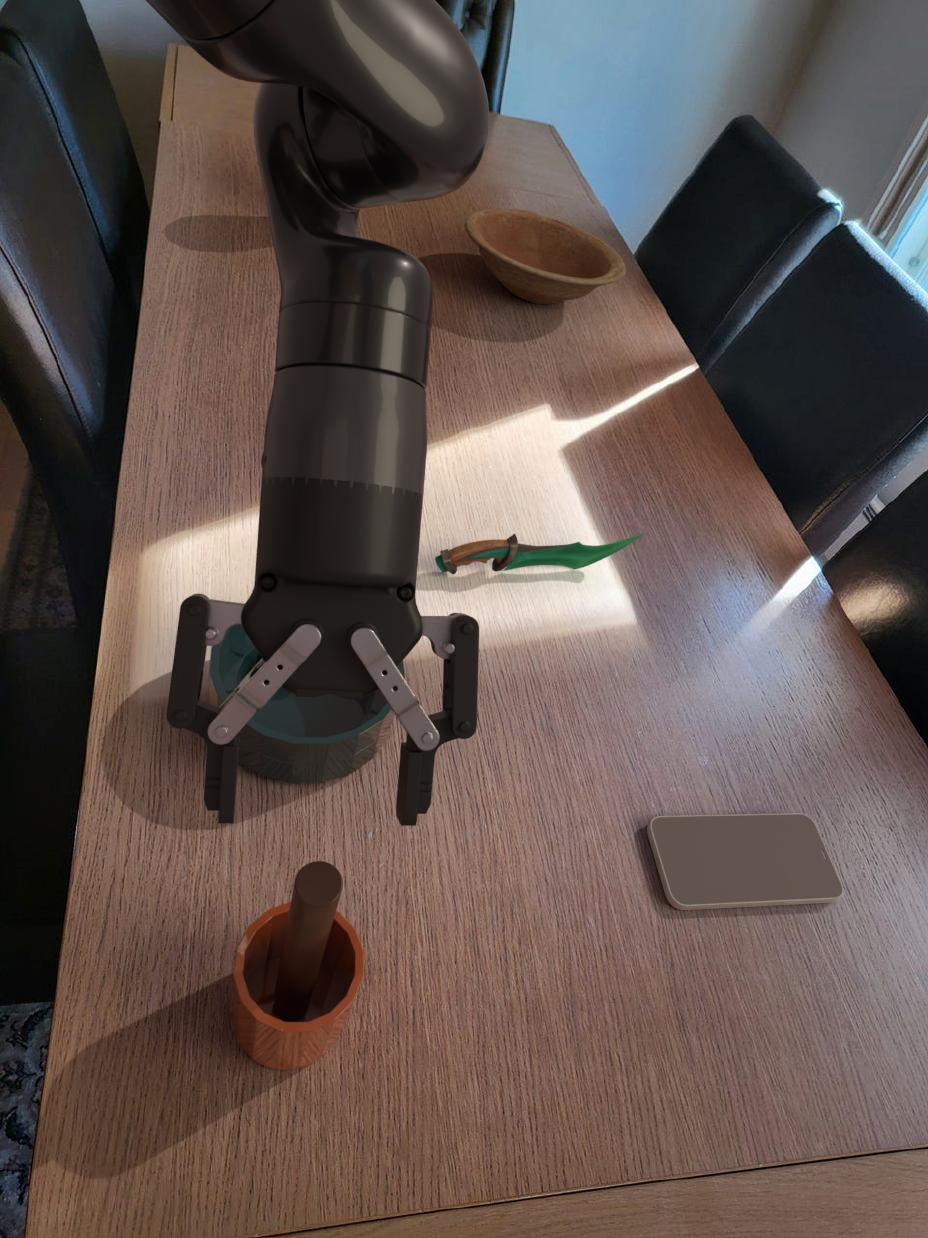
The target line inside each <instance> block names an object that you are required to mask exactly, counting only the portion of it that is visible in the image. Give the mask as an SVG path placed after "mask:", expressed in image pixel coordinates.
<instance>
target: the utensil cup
mask: <svg viewBox="0 0 928 1238" xmlns="http://www.w3.org/2000/svg"><path fill="white" fill-rule="evenodd" d="M290 904H291V901H288V902H286V903H283V904H280V905H276V906H274V907H271V908H269V909H267V910H265V911H264V912H263V913H262V914H261V915H260V916H259V917H258V918H257V919H256V920H254V921H253V922H252V923H251V924H250V925H248V927H247V929H246V930H245V932H244V933H243V934H244V935H243V936H242V938H241V940H240V941H239V943H238V945H237V947H236V950H235V957H234V967H233V972H232V973H233V974H232V989H231V1004H230V1019H231V1026H232V1030H233V1033H234V1036H235V1038H236V1040H237V1042H238V1044H239V1046H240V1047H241V1049H242V1050H243V1052H245V1054H246V1055H248V1057H249V1058H251V1059H252V1060H253V1061H254V1062H256V1063H258V1064H260V1065H262V1066H263V1067H266V1068H268V1069H269V1068H270V1069H274V1070H278V1071H291V1070H297V1069H301V1068H303V1067H306V1066H309V1065H312V1064H313V1063H315V1062H316V1061H318V1060H319V1059H321V1058H322V1057H323V1056H324V1055H326V1053H328V1052H329V1050H331V1048H332V1047H333V1046H334V1045H335V1043H336V1042H337V1041H338V1040H339V1038H340V1036H341V1033H342V1030H343V1028H344V1025H345V1023H346V1021H347V1019H348V1016H349V1014H350V1011H351V1009H352V1007H353V1004H354V1001H355V999H356V996H357V994H358V992H359V989H360V987H361V984H362V982H363V979H364V971H365V969H364V968H365V967H364V966H365V965H364V963H365V960H364V959H365V953H364V949H363V948H364V947H363V946H362V943H361V941H360V938H359V936H358V933H357V931H356V929H355V927H354V926H353V924H351V923H350V922H349V920H347V919H346V917H344V916H343V914H341V912H340V911H339V910H336V913H335V916H334V920H333V923H332V927H331V930H330V934H329V937H328V941H327V944H326V948H325V951H324V955H323V958H322V962H321V965H320V969H319V972H318V976H317V979H316V983H315V986H314V990H313V993H312V997H311V1000H310V1004H309V1007H308V1010H307V1012H306V1014H305V1016H304V1017H303V1018H302V1019H301V1020H299V1021H297V1022H284V1021H282V1020H279V1019H278V1018H277V1017H276V1016H275V1014H274V1012H273V1008H272V1004H273V998H274V992H275V987H276V981H277V976H278V970H279V965H280V959H281V954H282V948H283V943H284V937H285V932H286V926H287V920H288V915H289V909H290Z"/></svg>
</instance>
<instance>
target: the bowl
mask: <svg viewBox="0 0 928 1238" xmlns="http://www.w3.org/2000/svg"><path fill="white" fill-rule="evenodd" d="M464 229H465V232H466V233H467V235H468V237H469V239H471V241H472V242H473V243H474V245H476V246H477V247H478V250H479V254H480V255H481V257H482V259H483V261H484V263H485V266H486V267H487V268H488V270H489V272H491V274H492V275H494V277H495V278H496V279H497V280H498V282H500V284H502V286H503V287H505V288H506V289H507V291H508V292H510V293H511V294H512V295H514V296H515V297H517V298H520V299H522V300H525V301H527V302H529V303H531V304H538V305H546V304H547V305H548V304H554V303H559V302H562V301H570V300H571V301H572V300H577V299H580V298H583V297H586V296H587V295H589V294H590V293H592V292H593V291H594V290H595V289H597V288H598V287H602V286H605V285H609V284H613V283H615V282H617V281H619V280H620V279H622V278H623V277H624V276H625V275H626V274H627V268H626V264H625V262H624V260H623V258H622V257H621V256H620V254H619V253H618V252H617V251H616V250H614V248H613V247H611V246H610V245H609V244H608V243H606V242H605V241H603V240H602V239H601V238H599V237H597V236H596V235H594V234H591V233H588V232H586V231H584V230H581V229H579V228H577V227H575V226H574V225H571V224H569V223H566V222H564V221H560V220H559V219H555V218H551V217H549V216H545V215H542V214H538V213H537V212H535V211H532V210H525V209H519V208H518V209H517V208H514V209H510V208H495V207H494V208H483V209H479V210H474V211H473V212H471V213H470V214H468V215H467V217H466V218H465V221H464Z"/></svg>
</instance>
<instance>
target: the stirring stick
mask: <svg viewBox="0 0 928 1238" xmlns="http://www.w3.org/2000/svg"><path fill="white" fill-rule="evenodd" d="M343 887H344V880H343V876H342V874H341V872H340V871H339V869H338V868H337V867H336V866H334V865H333V864H331V863H329V862H327V861H324V860H317V861H312V862H309V863H306V864H304V865H303V866H302V867H300V869H299V870H298V871H297V872H296V876H295V878H294V883H293V887H292V894H291V899H290V902H291V904H290V909H289V915H288V920H287V926H286V932H285V937H284V943H283V948H282V954H281V959H280V965H279V970H278V976H277V981H276V987H275V992H274V998H273V1004H272V1008H273V1012H274V1014H275V1016H276V1017H277V1018H278V1019H279V1020H282V1021H284V1022H297V1021H299V1020H301V1019H302V1018H303V1017H304V1016H305V1014H306V1012H307V1010H308V1007H309V1004H310V1000H311V997H312V993H313V990H314V986H315V983H316V979H317V976H318V972H319V969H320V965H321V962H322V958H323V955H324V951H325V948H326V944H327V941H328V937H329V934H330V930H331V927H332V923H333V920H334V916H335V913H336V911H337V909H338V905H339V903H340V899H341V896H342V892H343Z"/></svg>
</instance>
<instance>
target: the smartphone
mask: <svg viewBox="0 0 928 1238" xmlns="http://www.w3.org/2000/svg"><path fill="white" fill-rule="evenodd" d="M646 834H647V837H648V840H649V841H648V842H649V844H650V848H651V852H652V855H653V858H654V862H655V865H656V868H657V871H658V875H659V878H660V882H661V885H662V888H663V889H662V890H663V891H664V895H665V898H666V900H667V901H668V903H669V904H670V905H671V906H672V907H673V908H675V909H677V910H679V911H693V910H712V909H713V910H714V909H729V908H730V909H732V908H733V909H734V908H755V907H774V906H792V905H812V904H828V903H834V902H836V901H838V900H839V899H841V897H842V896H843V894H844V886H843V882H842V881H841V879H840V876H839V874H838V871H837V869H836V866H835V864H834V862H833V860H832V858H831V856H830V853H829V851H828V849H827V846H826V844H825V842H824V840H823V836H822V835H821V833H820V830H819V828H818V825H817V824H816V822H815V821H814V819H812V817H810V816H809V815H807V814H805V813H801V812H793V813H792V812H789V813H785V812H784V813H742V814H741V813H739V814H736V813H735V814H698V815H697V814H689V815H688V814H686V815H684V814H683V815H658V816H655V817H653V818H652V819H651V821H650V822H649V823H648V825H647V826H646Z"/></svg>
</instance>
